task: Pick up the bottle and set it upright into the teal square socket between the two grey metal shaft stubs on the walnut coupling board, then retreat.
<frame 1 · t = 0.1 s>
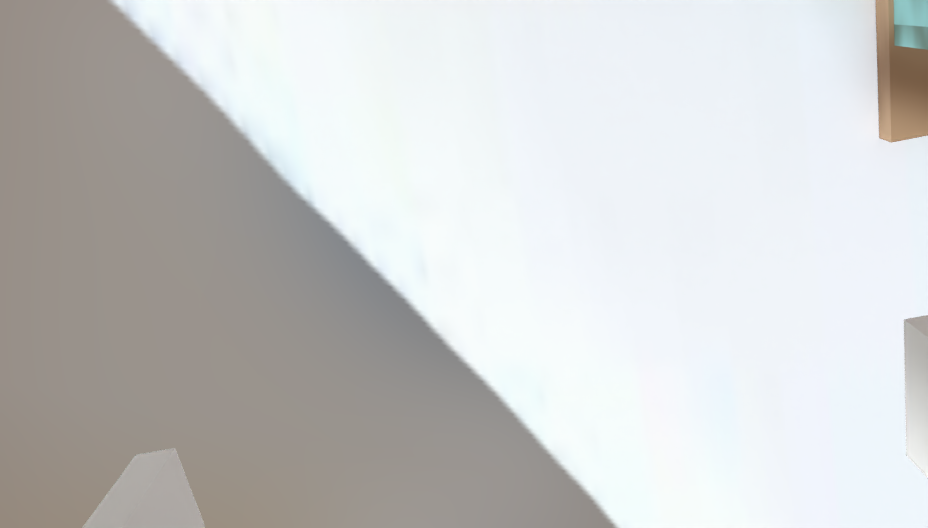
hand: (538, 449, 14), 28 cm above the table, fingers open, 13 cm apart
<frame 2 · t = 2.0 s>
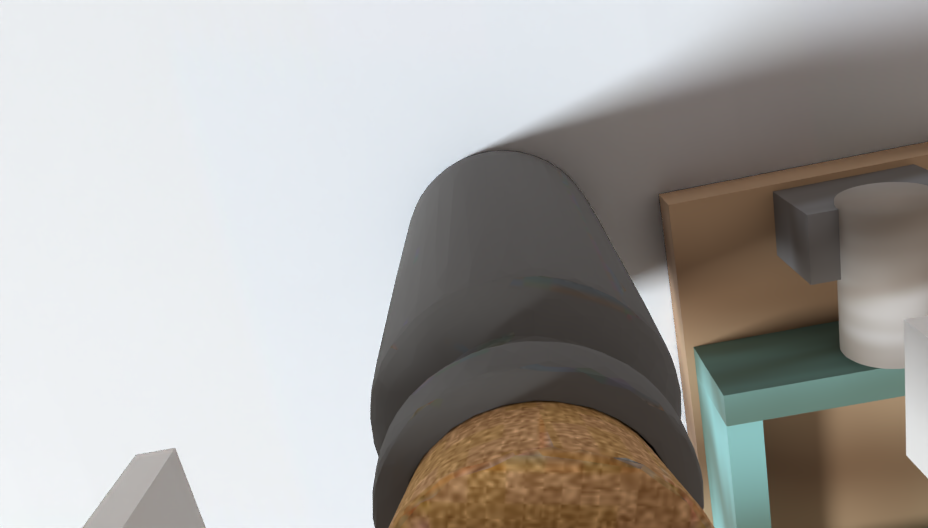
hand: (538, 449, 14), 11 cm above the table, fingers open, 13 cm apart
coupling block: (835, 428, 26), on the table
bottle: (501, 238, 24), on the table
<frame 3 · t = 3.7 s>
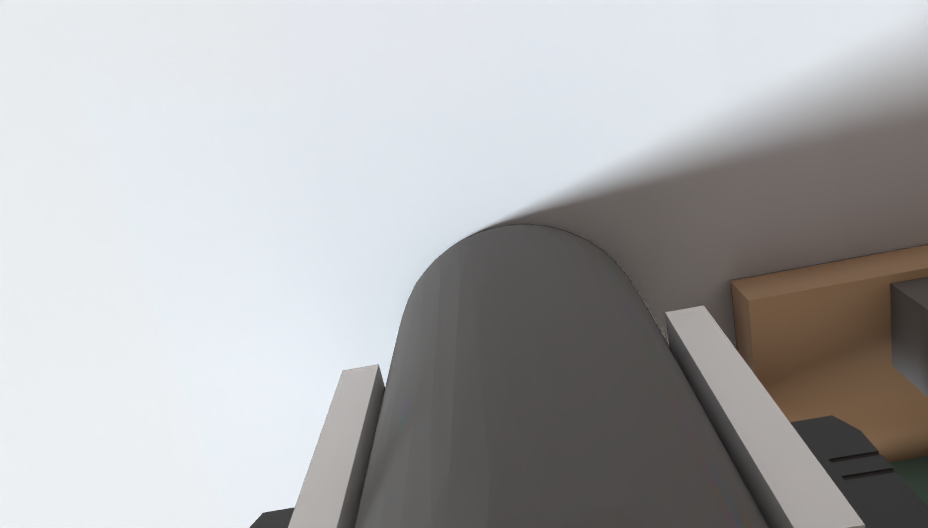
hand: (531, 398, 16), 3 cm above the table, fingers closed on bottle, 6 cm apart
bottle: (521, 334, 18), on the table, touching gripper
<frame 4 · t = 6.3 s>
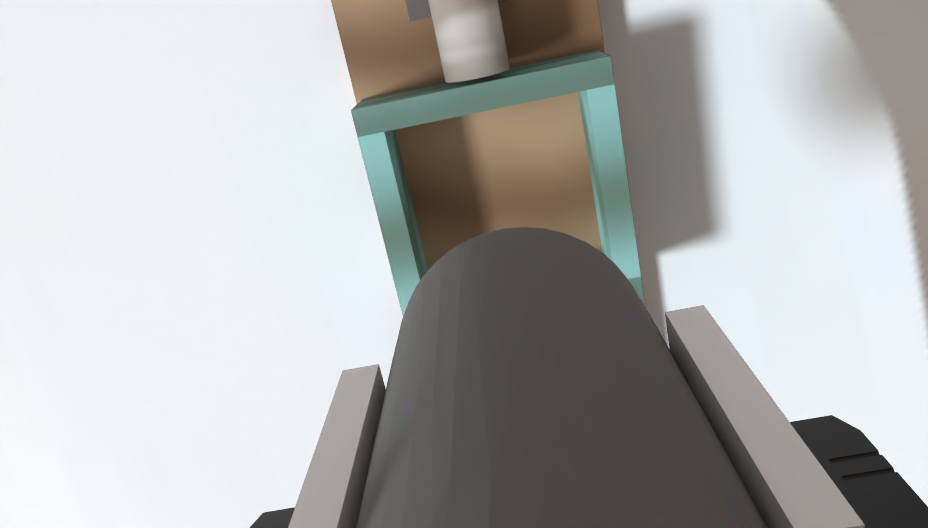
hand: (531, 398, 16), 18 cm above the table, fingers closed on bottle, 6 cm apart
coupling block: (499, 182, 33), on the table
bottle: (521, 337, 18), point 15 cm above the table, touching gripper
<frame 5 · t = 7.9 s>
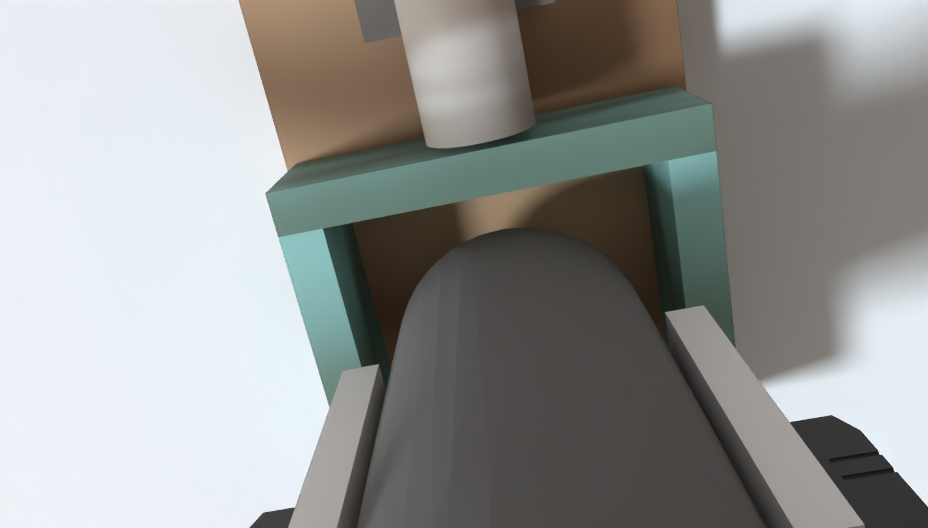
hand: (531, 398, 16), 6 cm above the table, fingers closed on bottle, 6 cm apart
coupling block: (514, 284, 21), on the table
bottle: (521, 337, 18), point 3 cm above the table, touching gripper
when the fingers open (5 cm above the table, at t = 8.9 s): bottle drops 1 cm, resting on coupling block.
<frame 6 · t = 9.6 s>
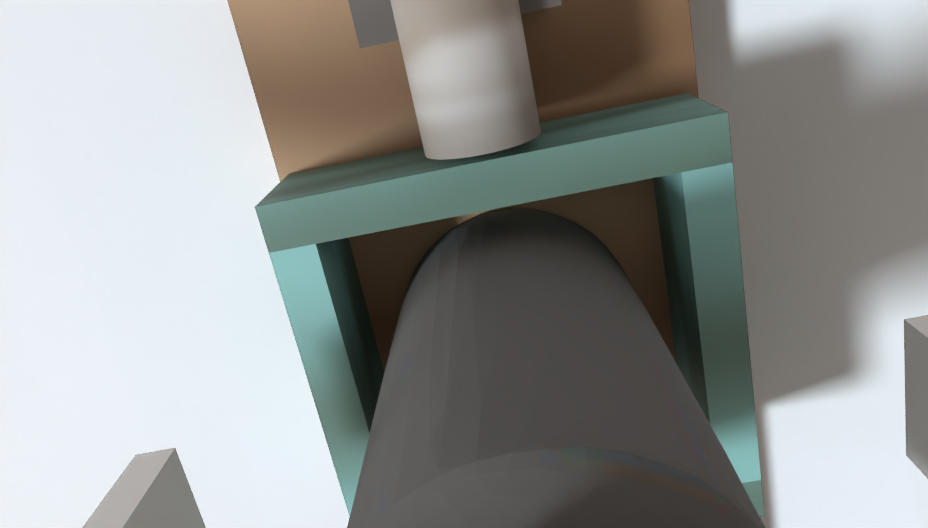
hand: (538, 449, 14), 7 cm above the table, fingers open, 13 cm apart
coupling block: (517, 299, 21), on the table
bottle: (516, 313, 20), point 1 cm above the table, touching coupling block
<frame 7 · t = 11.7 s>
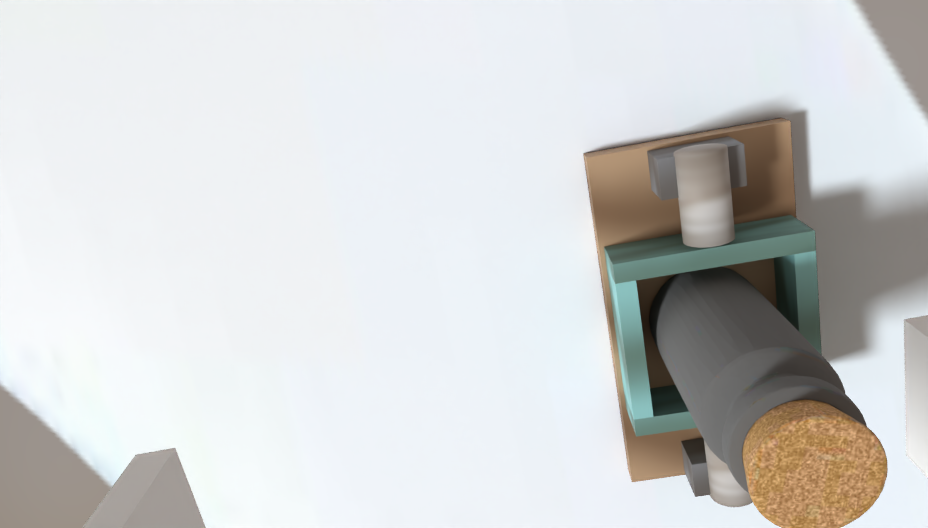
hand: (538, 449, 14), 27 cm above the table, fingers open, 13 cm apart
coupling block: (699, 307, 42), on the table
bottle: (702, 314, 41), point 1 cm above the table, touching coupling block
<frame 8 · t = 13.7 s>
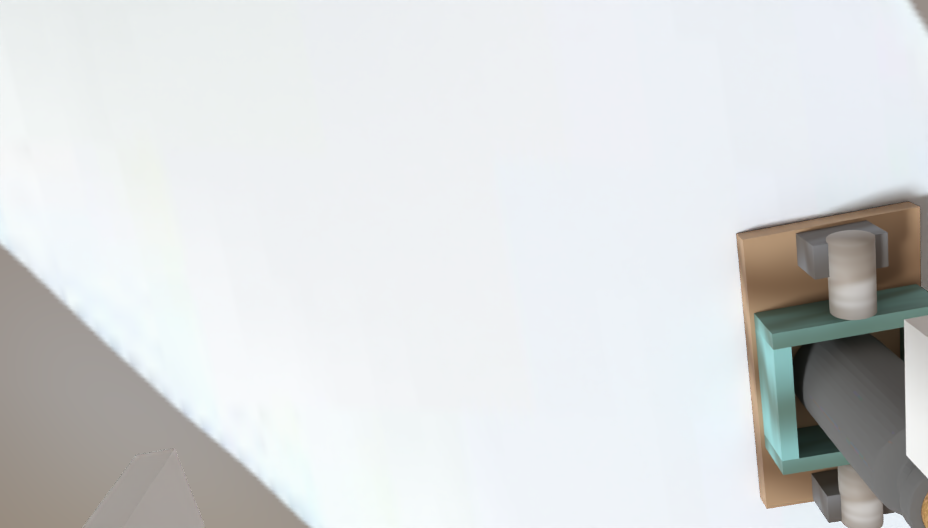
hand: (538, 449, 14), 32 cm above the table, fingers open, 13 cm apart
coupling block: (829, 360, 48), on the table
bottle: (835, 367, 47), point 1 cm above the table, touching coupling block
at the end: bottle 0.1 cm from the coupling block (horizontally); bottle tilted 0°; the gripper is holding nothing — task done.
